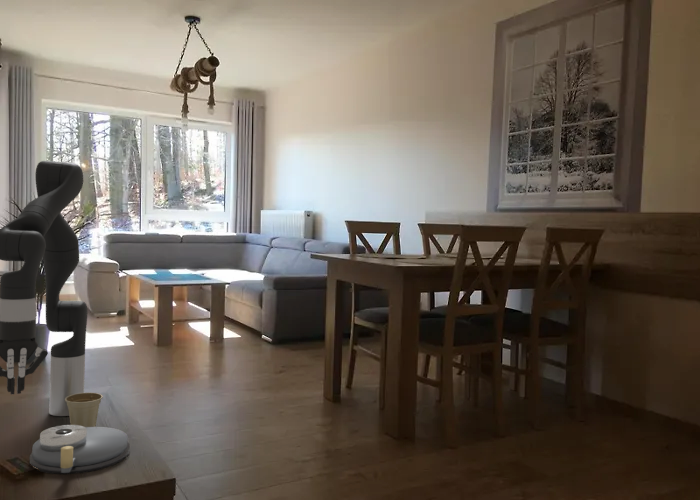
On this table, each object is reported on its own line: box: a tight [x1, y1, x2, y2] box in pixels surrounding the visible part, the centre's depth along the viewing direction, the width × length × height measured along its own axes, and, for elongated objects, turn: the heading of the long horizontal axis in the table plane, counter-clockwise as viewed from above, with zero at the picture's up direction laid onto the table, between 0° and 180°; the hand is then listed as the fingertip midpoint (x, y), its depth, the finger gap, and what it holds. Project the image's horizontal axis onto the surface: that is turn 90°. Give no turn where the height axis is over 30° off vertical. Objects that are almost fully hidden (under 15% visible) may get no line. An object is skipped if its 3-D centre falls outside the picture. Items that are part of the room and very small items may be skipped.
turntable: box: [31, 426, 129, 473], centre depth 137 cm, size 26×21×6 cm
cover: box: [39, 424, 87, 452], centre depth 137 cm, size 10×10×3 cm
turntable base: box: [29, 442, 131, 475], centre depth 139 cm, size 22×22×1 cm
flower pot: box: [65, 392, 103, 427], centre depth 158 cm, size 9×9×9 cm
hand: (15, 393), depth 131 cm, fingers closed
